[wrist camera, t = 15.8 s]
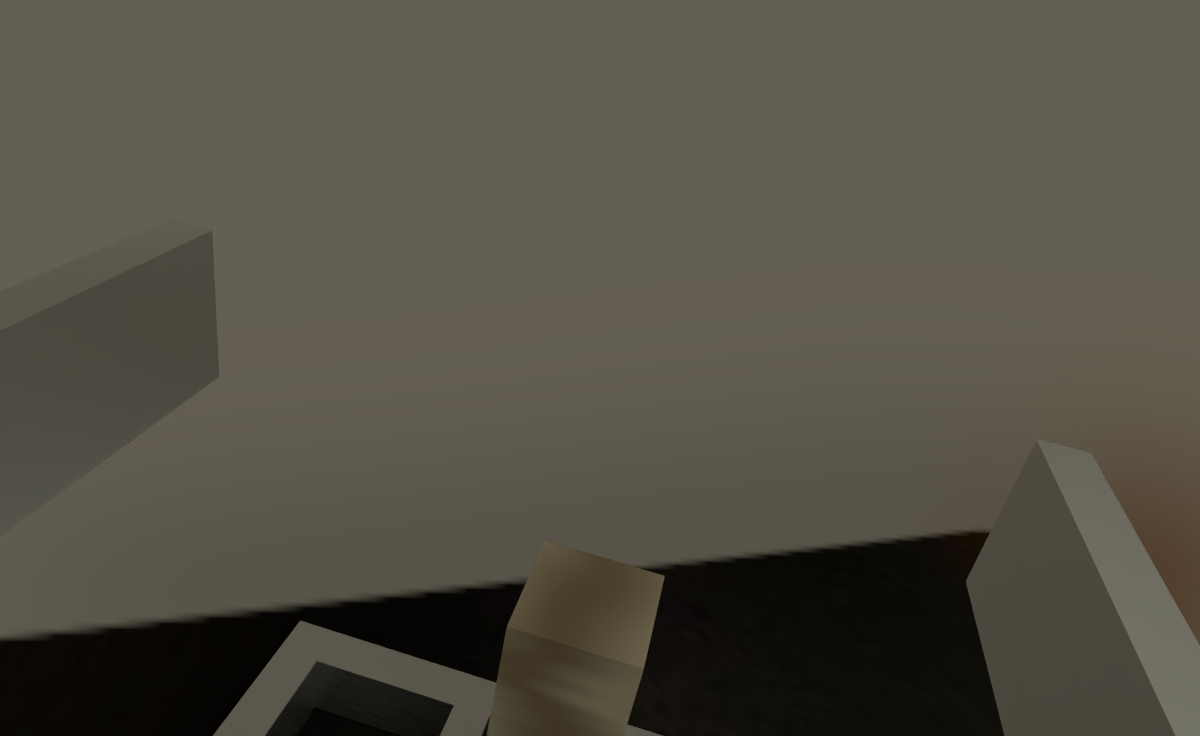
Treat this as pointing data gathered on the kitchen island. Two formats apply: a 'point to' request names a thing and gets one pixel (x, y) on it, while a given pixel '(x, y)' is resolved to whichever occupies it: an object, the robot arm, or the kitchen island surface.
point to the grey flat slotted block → (362, 690)
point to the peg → (575, 647)
